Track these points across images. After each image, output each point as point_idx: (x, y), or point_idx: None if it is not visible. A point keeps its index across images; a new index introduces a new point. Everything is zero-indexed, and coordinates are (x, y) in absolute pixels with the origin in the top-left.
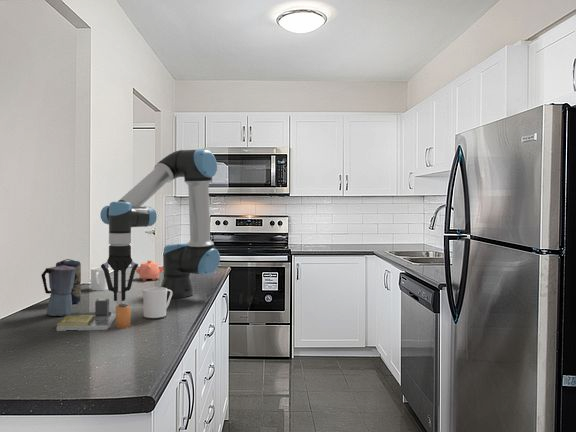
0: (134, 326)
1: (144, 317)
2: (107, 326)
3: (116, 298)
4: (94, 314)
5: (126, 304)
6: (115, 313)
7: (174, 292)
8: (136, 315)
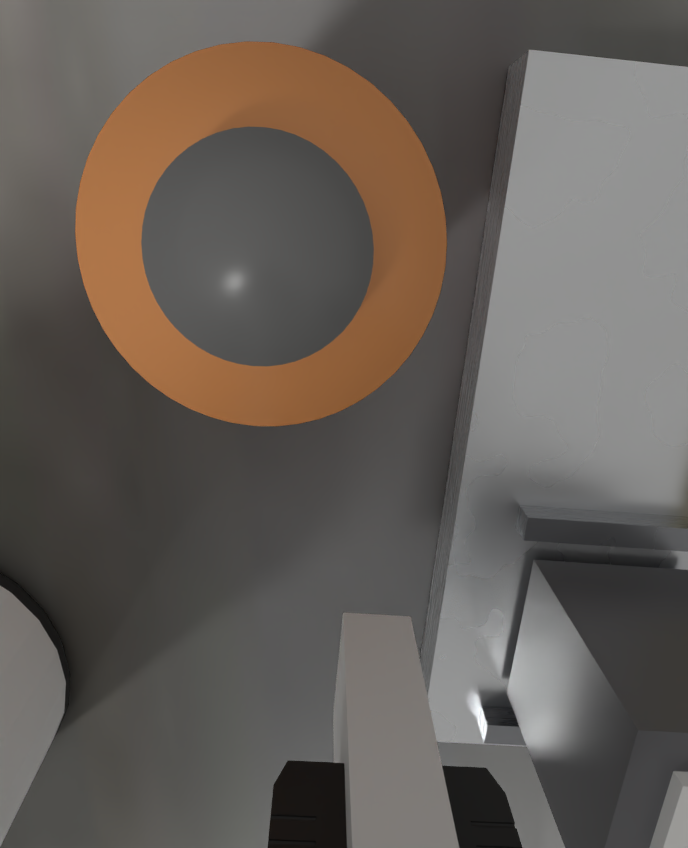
0: None
1: (52, 627)
2: (521, 64)
3: (455, 815)
4: None
5: (170, 244)
6: None
7: None
8: (175, 752)
